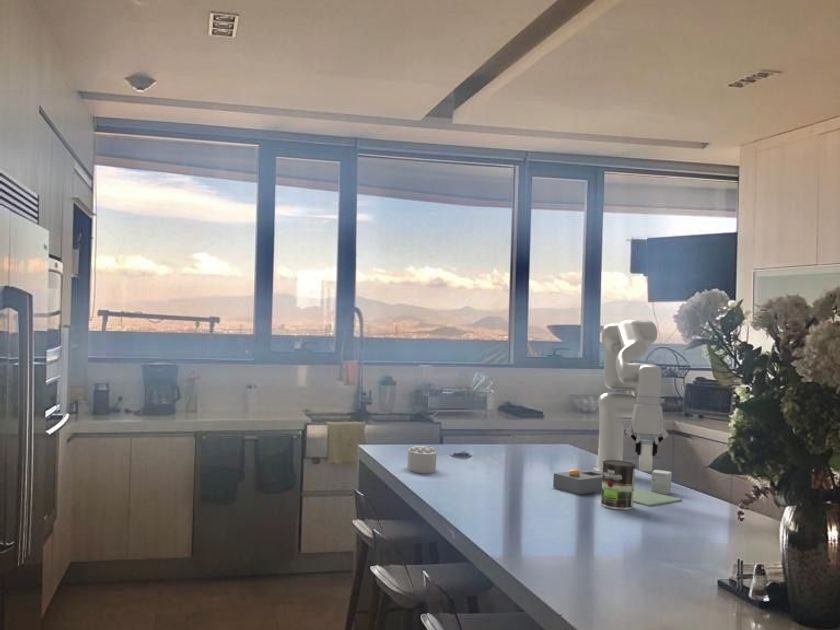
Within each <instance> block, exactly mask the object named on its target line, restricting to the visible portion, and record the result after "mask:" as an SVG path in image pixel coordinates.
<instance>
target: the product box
mask: <svg viewBox="0 0 840 630" xmlns="http://www.w3.org/2000/svg"><path fill="white" fill-rule="evenodd" d="M672 473H673V471H669V470H661V469H654V470H652V471H651V483H650V485H651V488H650V492H654V493H658V494H662V495H669V494H670V493H671V489H672V476H673V475H672Z"/></svg>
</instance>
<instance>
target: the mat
mask: <svg viewBox="0 0 840 630" xmlns="http://www.w3.org/2000/svg"><path fill="white" fill-rule="evenodd" d="M678 502H683V499H682V498H678V497H674V496H670V495H667V494H661V493H654V492H651V490H650V491H649V490H645V489H641V488H636V489H635V488H634V493H633V504H634V503H635V504H638V505H642V506H645V507H653V506H659V505H666V504H672V503H678Z"/></svg>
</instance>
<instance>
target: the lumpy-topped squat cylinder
mask: <svg viewBox="0 0 840 630" xmlns="http://www.w3.org/2000/svg"><path fill="white" fill-rule="evenodd" d="M437 455H438V454H437V451H436V448H435V447H432V446H431V447H428V446H427V445H414V446H411V447H410V448H408V449H407V466H406V467H407V470H408V471H410V472H414V473H418V474H419V473H420V474H433V473H435V472H436V471H437Z"/></svg>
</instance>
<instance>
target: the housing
mask: <svg viewBox="0 0 840 630" xmlns="http://www.w3.org/2000/svg"><path fill="white" fill-rule="evenodd" d="M602 477H603V473H600V472H596V471H594V470H591V469H581V470H580V475H578V476H577V477H573V476H571V475H570V474H569V471H564V472H556V473H555V472H554V473H553V483H552V484H553V485H552V488H554V489H557V490H561V491H565V492H569V493H572V494H576V495H583V494H584V495H585V494H591V493H600V492H602Z"/></svg>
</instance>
